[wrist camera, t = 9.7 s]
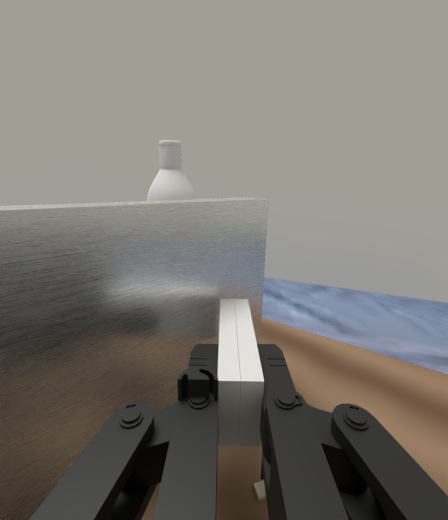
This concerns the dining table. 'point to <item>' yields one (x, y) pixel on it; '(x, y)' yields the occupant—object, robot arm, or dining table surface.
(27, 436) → the panel with knobbed post
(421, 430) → the brown wooden cutting board
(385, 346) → the dining table surface
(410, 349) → the dining table surface
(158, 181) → the bath foam
